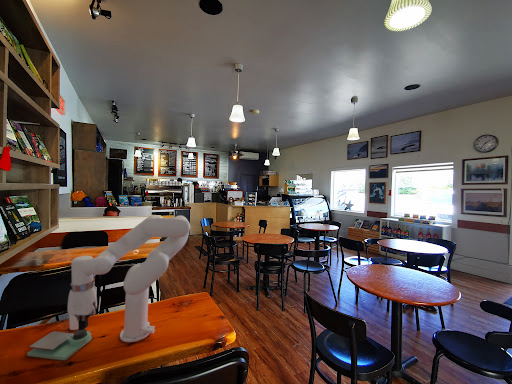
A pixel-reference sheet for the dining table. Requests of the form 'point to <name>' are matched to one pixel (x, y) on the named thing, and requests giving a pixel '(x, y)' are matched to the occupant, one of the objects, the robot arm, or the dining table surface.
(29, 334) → the dining table surface
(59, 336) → the scale plate
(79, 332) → the tare button
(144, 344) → the dining table surface
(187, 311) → the dining table surface
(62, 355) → the scale
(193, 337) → the dining table surface
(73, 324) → the drinking glass
